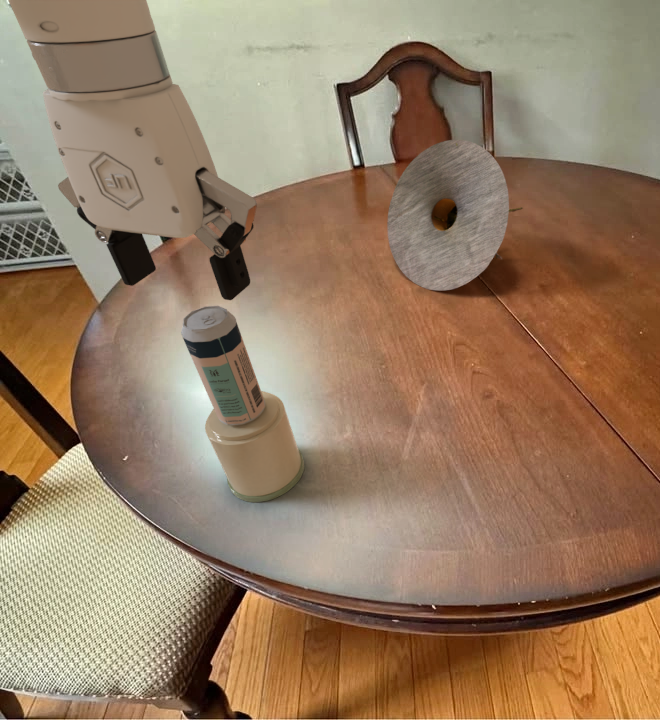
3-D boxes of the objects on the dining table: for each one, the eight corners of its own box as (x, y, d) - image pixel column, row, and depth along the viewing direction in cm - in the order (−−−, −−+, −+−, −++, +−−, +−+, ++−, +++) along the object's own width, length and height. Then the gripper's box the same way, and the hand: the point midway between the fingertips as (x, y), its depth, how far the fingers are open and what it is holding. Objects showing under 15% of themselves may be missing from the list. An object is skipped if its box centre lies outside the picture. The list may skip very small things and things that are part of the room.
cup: (231, 512, 60) (202, 452, 54) (226, 458, 66) (199, 398, 60) (310, 487, 62) (290, 426, 56) (298, 437, 68) (279, 378, 62)
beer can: (256, 390, 61) (222, 297, 53) (274, 413, 58) (241, 318, 50) (212, 410, 58) (170, 316, 51) (228, 435, 56) (187, 339, 48)
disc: (523, 323, 99) (569, 191, 98) (467, 297, 84) (521, 142, 84) (423, 293, 113) (463, 178, 113) (361, 267, 99) (406, 134, 98)
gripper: (-47, 71, 37) (72, 294, 47) (177, 84, 33) (251, 322, 44) (49, 51, 42) (136, 254, 53) (248, 60, 39) (299, 276, 49)
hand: (188, 284), depth 48 cm, fingers open, 9 cm apart
